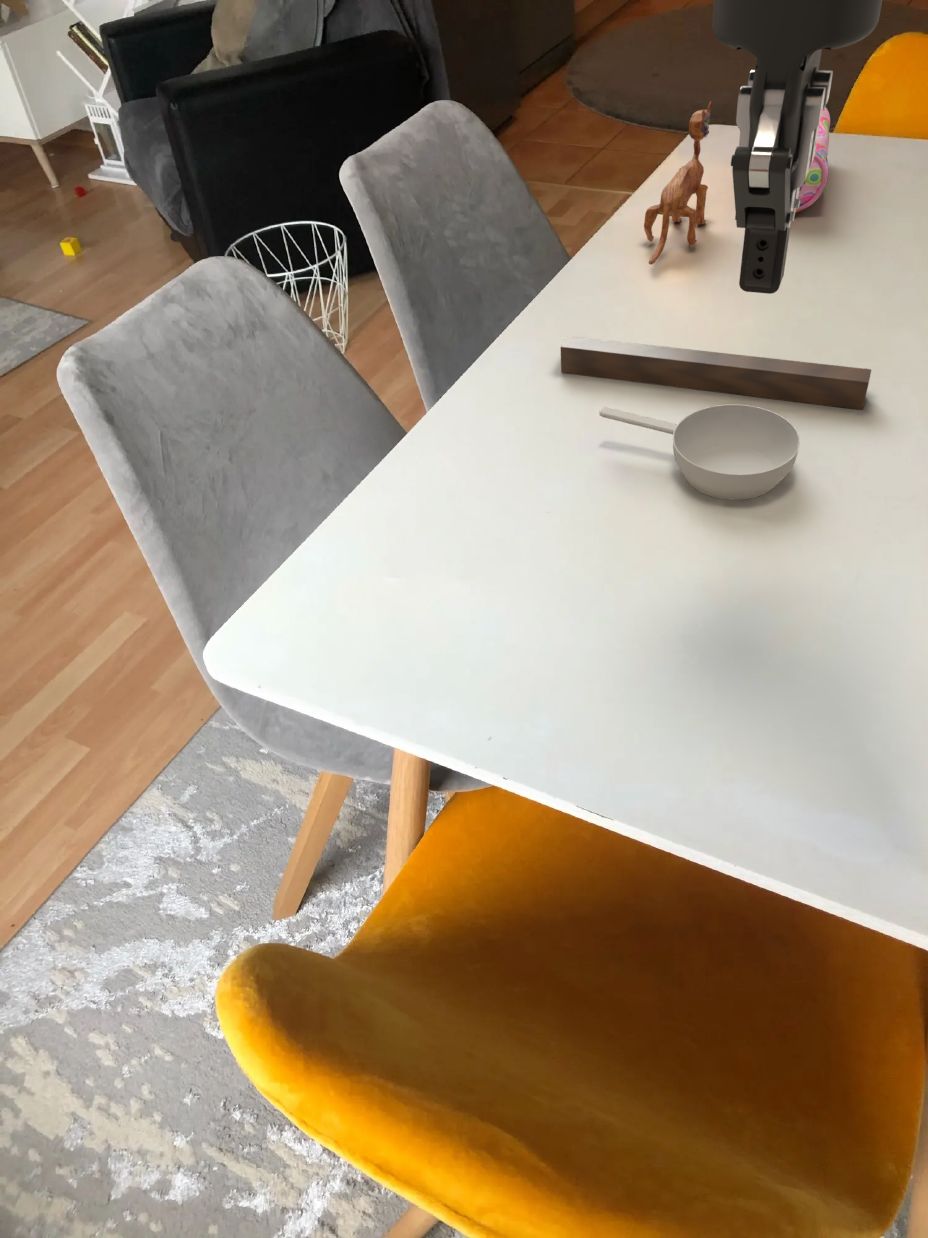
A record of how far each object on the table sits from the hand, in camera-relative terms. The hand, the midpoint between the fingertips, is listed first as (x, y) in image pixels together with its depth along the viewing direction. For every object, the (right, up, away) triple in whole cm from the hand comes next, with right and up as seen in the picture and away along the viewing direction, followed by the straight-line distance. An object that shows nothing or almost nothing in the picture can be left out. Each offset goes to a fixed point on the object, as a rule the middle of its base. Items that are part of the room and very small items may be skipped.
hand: (760, 285), depth 54 cm
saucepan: (+4, -5, +34) cm, 34 cm away
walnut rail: (+8, +5, +42) cm, 43 cm away
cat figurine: (+10, +28, +66) cm, 73 cm away
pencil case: (+27, +39, +75) cm, 89 cm away
